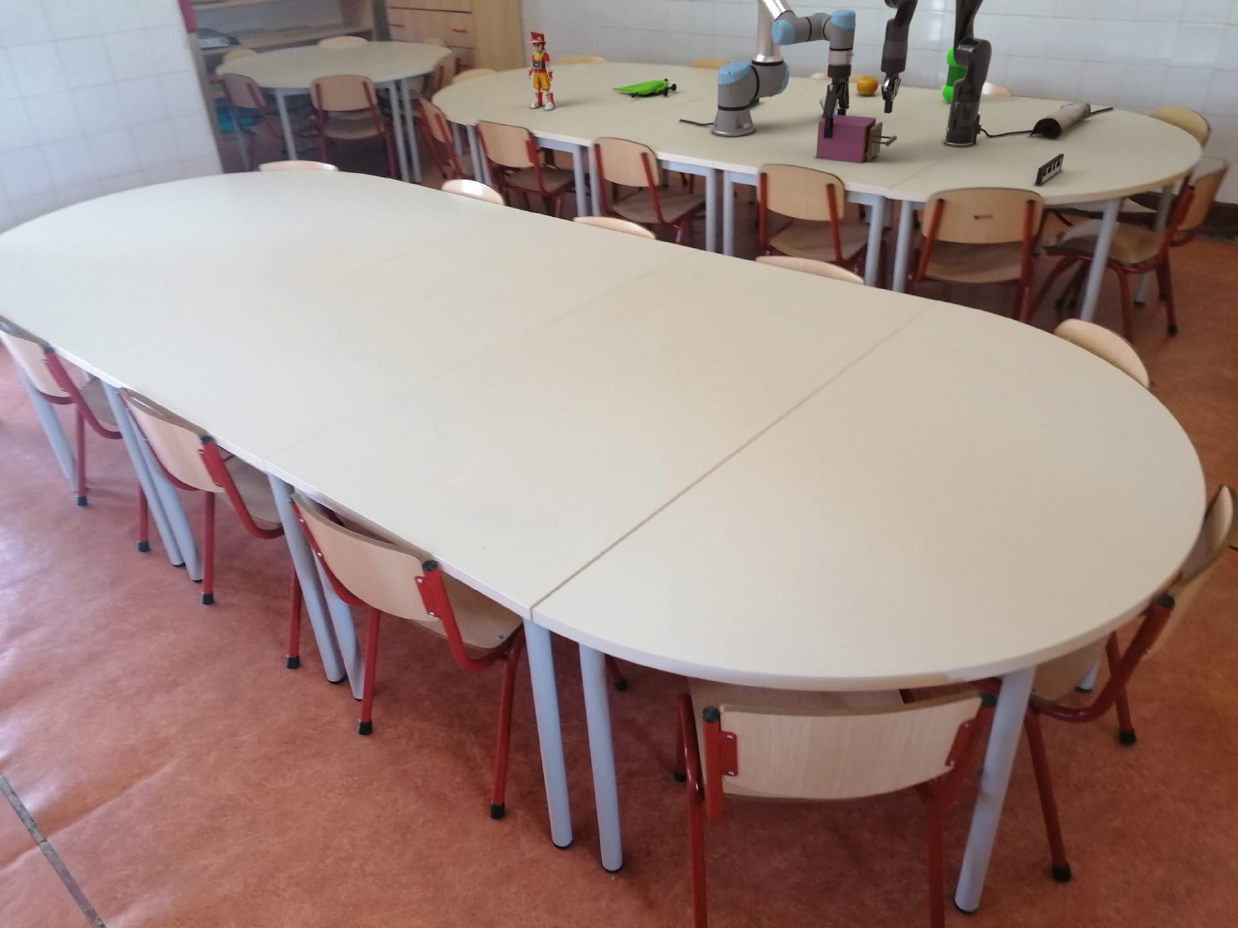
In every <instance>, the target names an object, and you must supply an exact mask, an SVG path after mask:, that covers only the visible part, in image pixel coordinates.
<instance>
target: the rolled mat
mask: <svg viewBox="0 0 1238 928" xmlns="http://www.w3.org/2000/svg"><path fill="white" fill-rule="evenodd" d="M1091 112H1092V105H1091V104H1090V103H1089V102H1082V101H1080V102H1079V101H1078V102H1073V103H1072V102H1071V103H1065V104H1063V105H1061V106H1060V108H1059V109H1058V110H1056V111H1053V112H1052V113H1050V114H1048V115H1046V116H1044V117H1042V118H1040V119H1039V120H1037V121H1036V123H1035V125H1034V126H1033V128H1032V129H1031V130H1032V132H1029V137H1032V136H1034V135H1041V136H1042V137H1043V138H1046V139H1051V140H1055V139H1056V140H1057V139H1058V138H1059V137H1060V136H1061V135H1063V134H1064V133H1065V132H1066V131H1067V129H1068V128H1070V127H1071V126H1073V124H1075V123H1076V122H1077V121H1079V120H1084V119H1085V120H1086V119H1087V118H1090V117H1091V116H1092V114H1091ZM1078 119H1079V120H1078Z"/></svg>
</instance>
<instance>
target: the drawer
mask: <svg viewBox="0 0 1238 928" xmlns="http://www.w3.org/2000/svg"><path fill="white" fill-rule="evenodd" d="M883 125H884V122H883V121H879V122H877V123H876V125H875V126H874V123H872V124H871V125H870V126H868V127H867V128H866V132H865V142H864V151H863V157H865V156H866V155H867V159H866V160H867V161H871V160H872V159H873V158H875V157H876V156H878V154H880V152H881V146H882V145H885V146H886V147H889V146H890V145H892V144H893V143H894V142H896V140H898V136H897V135H892V136H889V135H883ZM882 139H887V140H886V141H882Z"/></svg>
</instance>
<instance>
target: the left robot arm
mask: <svg viewBox="0 0 1238 928" xmlns="http://www.w3.org/2000/svg"><path fill="white" fill-rule="evenodd" d="M756 2H757V3H758V5H757V6H758V8H757V25H756V44H755V45H756V46H755V47H756V48H755V54H754V55H752V57H751V63H750V62H749V61H733V62H730V63H726V64H724V65H723V66H721V67H720V68H719V70H718V75H717V111H716V114H715V118H714V120H713V122H706V123H704V122H703V123H702V122H698V121H697V122H696V121H693V120H688V119H682V118H679V122H681V123H688V124H691V125H692V124H693V125H696V126H700V127H707V126H712V133H713V134H715V135H717V136H721V137H741V136H746V135H750V134H752V133H754V122H753V118H752V115H751V111H750V107H749V100H751V99H757V98H760V99H763V98H767V97H769V98H772V97H774V96H777V95H780V94H783V92H784V91H785V90H786V89H787V86H788V84H789V80H790V70H789V66H788V63H787V62H786V61H785V60H784V58H785V57H784V56H783V55H782V54H781V46H791V45H796V44H801V43H809V42H818V41H826V42H829V47H828V57H827V59H828V60H827V63H828V65H827V72H826V73H827V75H826V76H827V78H829V79H831V82H830V84H827V87H826V96H825V97H826V100H825V106H824V111H823V110H822V118H823V119H824V118H825V126H824V138H832V134H833V122H834V118H833V114H834V110H835V106H836V103H837V101H838V108H839V109H838V113H837V115H846V116H847V111H846V109H847V110H849V109H850V77H851V75H852V66H853V65H852V62H853V57H854V56H855V53H854V46H855V45H854V43H855V34H856V27H857V23H856V17H857V15H856V12H855V10H853V9H837V10H834V11H833V12H832V13H831V14H829V13H826V12H814V13H813V14H812V15H808V16H807V15H806V16H799V17H798V16H797V15H796V13H795V12H794V11H793V9H792V7H791V6H790V3H788V1H787V0H756ZM828 113H829V114H828Z"/></svg>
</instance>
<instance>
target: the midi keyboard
mask: <svg viewBox="0 0 1238 928" xmlns="http://www.w3.org/2000/svg"><path fill="white" fill-rule="evenodd" d="M1064 157H1065V153H1059V154H1058V155H1056V156H1055V157H1052V159H1051V160H1049V161H1047V162H1045V164H1042V165H1041V166H1039V167H1038V169H1037V175H1036V179H1035V186H1040V185H1042V183H1044V182H1045V181H1047V180H1048V179H1049V178H1051V177H1052V176H1054V175H1055V174H1056V173H1058V172H1060V171H1061V170H1062V165H1063V161H1064Z"/></svg>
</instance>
